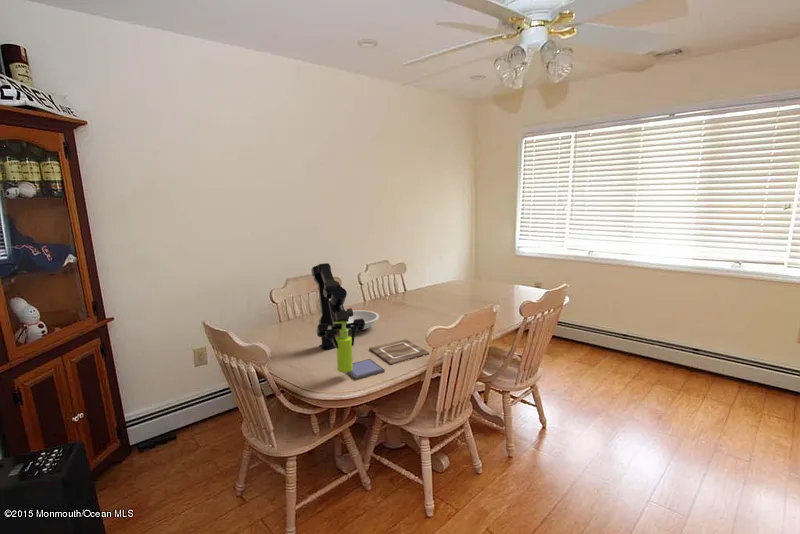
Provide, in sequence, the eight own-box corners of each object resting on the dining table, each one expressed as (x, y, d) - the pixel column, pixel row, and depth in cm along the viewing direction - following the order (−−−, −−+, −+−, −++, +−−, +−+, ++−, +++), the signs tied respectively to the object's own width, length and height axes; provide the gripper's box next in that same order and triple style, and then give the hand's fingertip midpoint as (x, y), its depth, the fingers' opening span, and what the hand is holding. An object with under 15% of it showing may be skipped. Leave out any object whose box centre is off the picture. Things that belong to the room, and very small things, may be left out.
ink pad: (342, 368, 166) (342, 365, 166) (370, 360, 172) (370, 358, 172) (355, 380, 155) (355, 377, 155) (384, 371, 161) (384, 369, 161)
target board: (369, 349, 185) (369, 347, 185) (405, 340, 195) (405, 338, 195) (390, 364, 168) (390, 362, 168) (429, 354, 178) (429, 352, 178)
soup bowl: (343, 320, 228) (343, 309, 227) (384, 322, 223) (383, 311, 222) (327, 334, 205) (327, 322, 204) (372, 337, 200) (372, 325, 199)
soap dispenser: (335, 366, 160) (334, 318, 156) (353, 365, 160) (351, 318, 156) (334, 372, 154) (332, 323, 150) (352, 372, 154) (350, 323, 150)
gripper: (316, 304, 152) (323, 342, 144) (363, 299, 159) (372, 334, 151) (313, 318, 161) (320, 353, 153) (358, 312, 168) (366, 346, 160)
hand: (345, 346), depth 154 cm, fingers closed on soap dispenser, 6 cm apart
